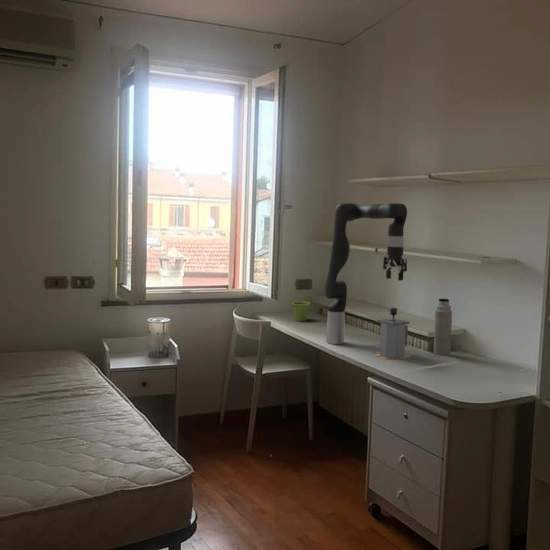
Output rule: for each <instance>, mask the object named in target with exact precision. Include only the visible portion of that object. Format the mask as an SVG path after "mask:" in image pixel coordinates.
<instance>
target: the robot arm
mask: <svg viewBox="0 0 550 550" xmlns="http://www.w3.org/2000/svg"><path fill="white" fill-rule="evenodd" d="M407 215H408V208H407V207H406V205H405V204H404V203H396V202H395V203H393V202H392V203H379V204H378V203H375V204H367V205H362V204H358V203H357V204H356V203H351V202H345V203H339V204H338V205H337V206H336V207H335V210H334V222H333V223H334V224H333V225H334V226H333V237H332V245H331V250H330V258H329V266H328V271H327V276H326V279H325V283H324V284H325V285H324V295H325V297H326V298H327V299H328V300H329V299H331V300H332V299H335V300H334V301H333V302H331V303H330V304H328V305H327V317H326V318H327V319H326V320H327V324H326V326H325V327H326V329H325V332H326V333H325V335H326V336H325V342H326V343H327V344H331V345H342V344H344V343H345V327H346V325H345V324H346V320H345V319H346V306H347V299H348V298H347V296H348V288H347V284H346V282H345V281H344V280H337V278H338V275H339V273H340V272H341V270H342V269H343V268H344V267H345V265H346V263H347V262H348V259H349V256H350V255H349V254H350V242H349V239H348V237H347V233H346V229H347V224H348V223H347V222H353V221H354V220H359V219H364V218H365V219H374V220H375V219H376V220H378V219H379V220H381V219H393V222H392V223H391V224H389V225H388V228H387V229H388V234H387V236H388V237H387V249H386V254H387V256H384V257H383V262H382V265H383V267H382V269H383V270H385V271H386V273H385V274H386V275H385V277H386V279H392V269H393V268H396V269H397V271H398V277H397V280H398V281H400V282H401V281H403V279H404V273H405V272H407V271H408V263H407V262H408V260H407V259H408V258H403V256H404V246H405V245H404V244H405V243H404V242H405V241H404V227H405V225H406V224H405V223H406V220H407Z"/></svg>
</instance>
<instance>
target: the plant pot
mask: <svg viewBox="0 0 550 550" xmlns="http://www.w3.org/2000/svg"><path fill="white" fill-rule="evenodd" d="M291 304H292V309H293V314H294V321H296V322H302V321H303V322H305V321H307V318H308V312H309V308H310V307H309V306H310V302H308V301H294V302H291Z"/></svg>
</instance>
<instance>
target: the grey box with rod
mask: <svg viewBox="0 0 550 550" xmlns="http://www.w3.org/2000/svg"><path fill="white" fill-rule="evenodd" d="M376 322H377V323H380V345H379V346H380V347H379V348H380V349H379V350H380V351H379V352H380V356H383V357H386V358H402V357H404V353H405V347H407V346H408V330H409V324H410V322H411V321H408V320H404V319H401V318H395V317H394V321H392V317H391V318H384V319H382V318H381V319H377V320H376Z"/></svg>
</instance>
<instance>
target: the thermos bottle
mask: <svg viewBox="0 0 550 550" xmlns="http://www.w3.org/2000/svg"><path fill="white" fill-rule="evenodd" d="M452 319H453V310H452V306H451V305H450V299H448V298H438V304H437V305H436V309H435V310H434V331H433V332H434V336H433V337H434V339H433V341H434V342H433V354H435V355H438V356H448V357H451V347H452V345H451V344H452V343H451V342H452V325H453V324H452V321H453V320H452Z"/></svg>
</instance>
